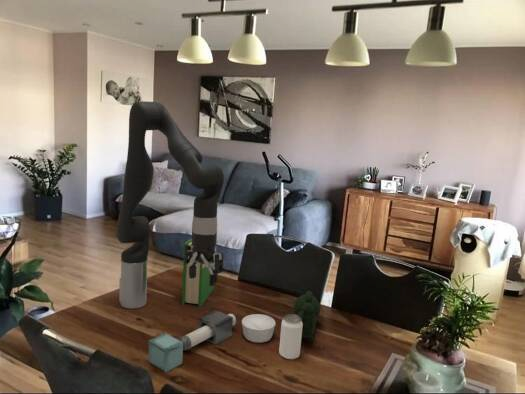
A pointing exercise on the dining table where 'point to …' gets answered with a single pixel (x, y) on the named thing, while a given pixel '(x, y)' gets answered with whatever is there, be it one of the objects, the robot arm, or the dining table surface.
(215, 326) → the sleeve
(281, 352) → the can
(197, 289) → the hardback book
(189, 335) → the tube
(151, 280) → the dining table surface
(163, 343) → the socket
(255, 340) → the ramekin
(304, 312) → the dark green lumpy piece
